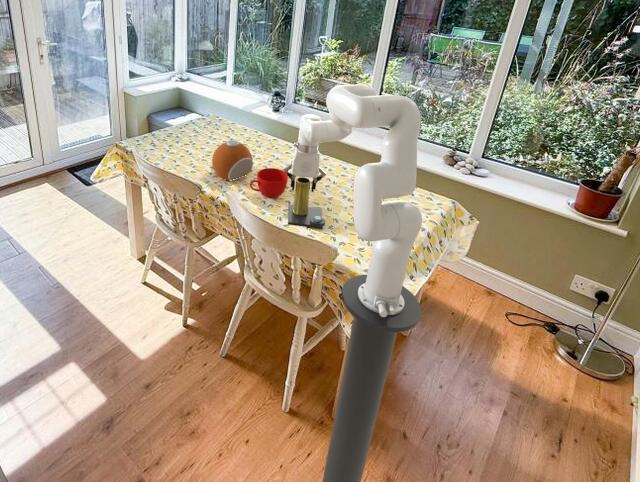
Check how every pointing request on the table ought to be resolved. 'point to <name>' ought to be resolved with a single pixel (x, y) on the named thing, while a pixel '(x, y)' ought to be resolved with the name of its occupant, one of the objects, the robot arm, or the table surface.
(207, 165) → the table surface
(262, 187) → the ceramic cup
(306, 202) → the vase
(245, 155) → the alarm clock
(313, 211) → the scale
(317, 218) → the button
